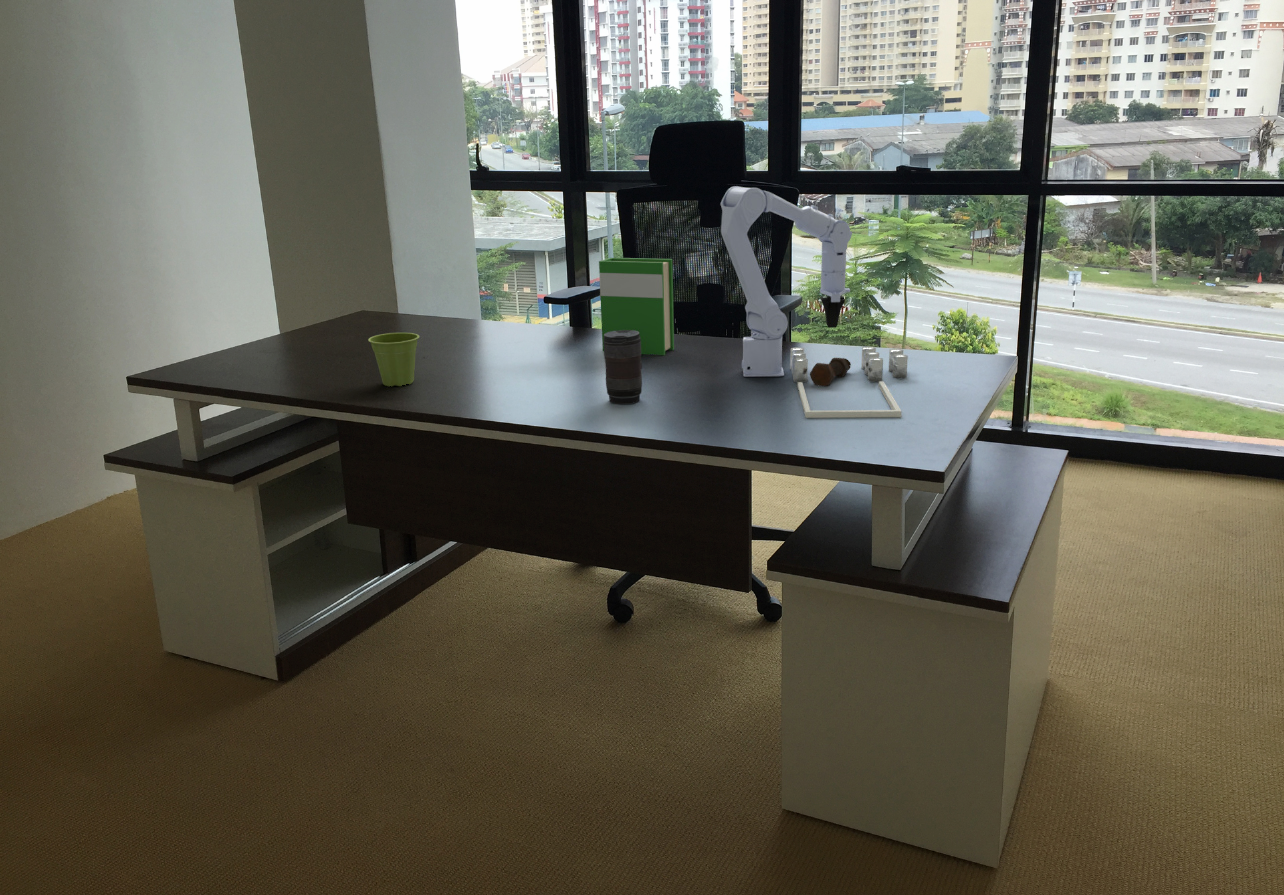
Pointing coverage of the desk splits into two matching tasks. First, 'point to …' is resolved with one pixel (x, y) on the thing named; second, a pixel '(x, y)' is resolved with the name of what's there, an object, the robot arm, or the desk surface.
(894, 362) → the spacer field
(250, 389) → the desk surface
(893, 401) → the tray rim
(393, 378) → the plant pot
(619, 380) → the camera lens
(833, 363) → the bolt
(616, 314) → the hardback book
